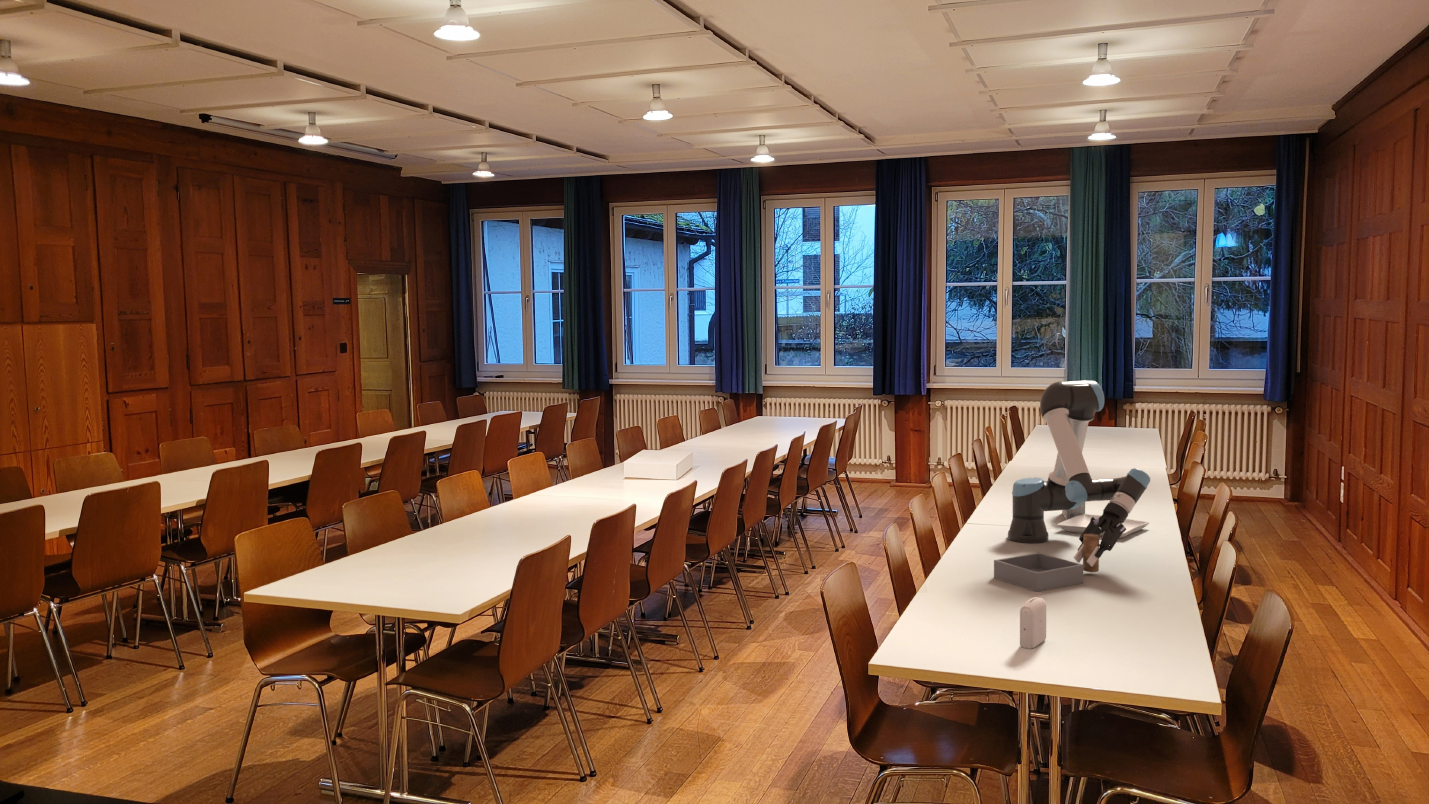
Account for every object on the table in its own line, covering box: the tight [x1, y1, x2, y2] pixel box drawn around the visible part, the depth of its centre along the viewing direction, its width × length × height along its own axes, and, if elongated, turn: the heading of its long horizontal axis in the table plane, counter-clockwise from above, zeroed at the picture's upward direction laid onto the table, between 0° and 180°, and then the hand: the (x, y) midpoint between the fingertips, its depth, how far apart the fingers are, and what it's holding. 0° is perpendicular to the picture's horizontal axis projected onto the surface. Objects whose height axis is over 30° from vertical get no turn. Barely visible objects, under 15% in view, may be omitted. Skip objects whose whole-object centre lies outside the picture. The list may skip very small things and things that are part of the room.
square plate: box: [1056, 513, 1150, 539], centre depth 409 cm, size 27×27×4 cm
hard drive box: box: [1061, 502, 1086, 520], centre depth 435 cm, size 16×8×20 cm, turn 168°
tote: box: [993, 552, 1084, 593], centre depth 339 cm, size 20×20×6 cm
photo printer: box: [1019, 597, 1047, 650], centre depth 277 cm, size 10×4×12 cm, turn 140°
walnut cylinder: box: [1082, 534, 1100, 573], centre depth 344 cm, size 5×5×12 cm
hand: (1082, 562), depth 343 cm, fingers closed on walnut cylinder, 5 cm apart
